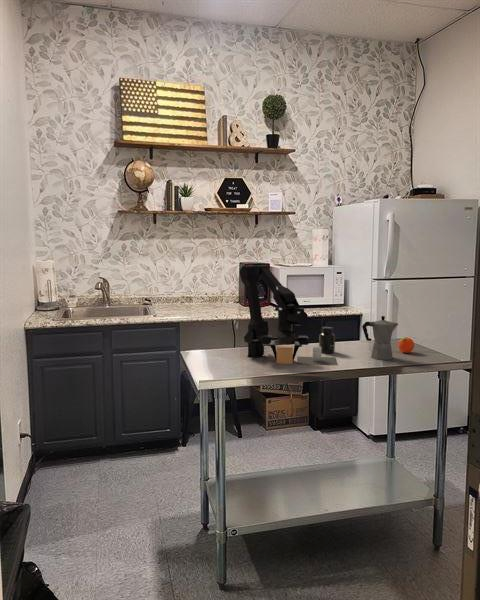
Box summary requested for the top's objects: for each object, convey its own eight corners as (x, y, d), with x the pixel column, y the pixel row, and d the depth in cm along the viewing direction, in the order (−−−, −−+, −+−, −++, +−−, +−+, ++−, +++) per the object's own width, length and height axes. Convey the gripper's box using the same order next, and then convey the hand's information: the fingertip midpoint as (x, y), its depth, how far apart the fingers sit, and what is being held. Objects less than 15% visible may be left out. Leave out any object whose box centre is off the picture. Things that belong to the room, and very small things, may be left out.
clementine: (406, 355, 224) (406, 339, 223) (393, 352, 230) (393, 337, 229) (417, 353, 229) (418, 337, 228) (404, 350, 234) (404, 335, 234)
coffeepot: (393, 355, 225) (394, 314, 223) (400, 360, 216) (402, 317, 214) (358, 355, 224) (359, 314, 222) (364, 360, 215) (365, 317, 213)
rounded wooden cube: (276, 365, 206) (276, 348, 205) (277, 362, 212) (277, 345, 211) (292, 366, 205) (292, 348, 204) (292, 362, 211) (292, 345, 210)
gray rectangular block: (312, 361, 208) (313, 348, 208) (312, 359, 212) (312, 346, 211) (321, 361, 208) (321, 348, 207) (320, 359, 211) (321, 346, 211)
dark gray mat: (297, 366, 204) (297, 364, 204) (297, 358, 218) (297, 356, 218) (338, 367, 202) (338, 365, 202) (335, 359, 216) (335, 357, 216)
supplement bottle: (334, 356, 222) (335, 329, 221) (318, 355, 224) (319, 328, 222) (334, 353, 229) (335, 326, 228) (319, 352, 230) (319, 326, 229)
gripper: (260, 325, 200) (260, 364, 201) (309, 326, 198) (308, 366, 199) (262, 321, 211) (262, 358, 212) (308, 321, 209) (307, 359, 210)
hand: (284, 360), depth 208 cm, fingers closed on rounded wooden cube, 6 cm apart
